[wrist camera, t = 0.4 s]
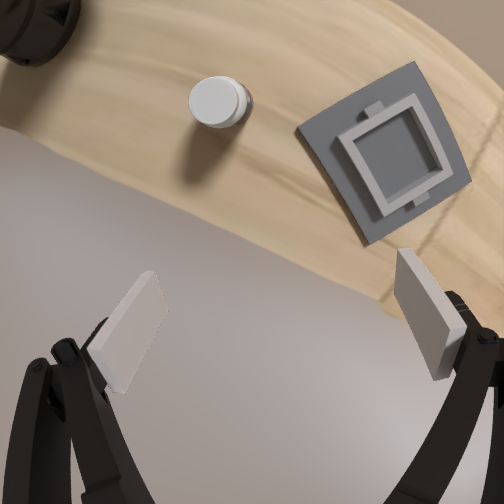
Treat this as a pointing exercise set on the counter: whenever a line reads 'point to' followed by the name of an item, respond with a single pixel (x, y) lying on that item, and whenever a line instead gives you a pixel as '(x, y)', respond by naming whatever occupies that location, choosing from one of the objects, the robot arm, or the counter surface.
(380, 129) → the socket
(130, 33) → the counter surface
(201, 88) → the pill bottle
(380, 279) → the counter surface
